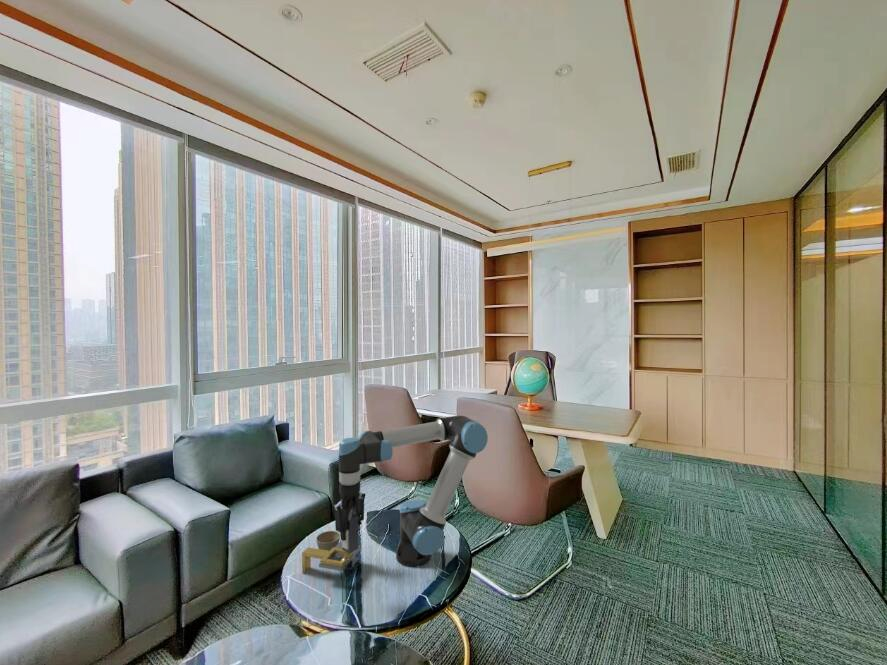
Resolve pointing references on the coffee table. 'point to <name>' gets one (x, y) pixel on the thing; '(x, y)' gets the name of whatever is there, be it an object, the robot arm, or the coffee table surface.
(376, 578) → the coffee table surface
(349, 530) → the dark grey block
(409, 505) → the robot arm
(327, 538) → the flower pot
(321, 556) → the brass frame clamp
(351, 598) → the coffee table surface
